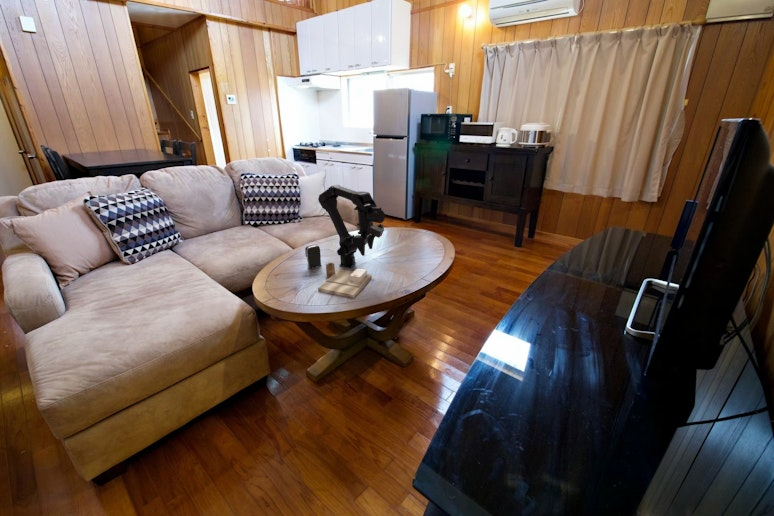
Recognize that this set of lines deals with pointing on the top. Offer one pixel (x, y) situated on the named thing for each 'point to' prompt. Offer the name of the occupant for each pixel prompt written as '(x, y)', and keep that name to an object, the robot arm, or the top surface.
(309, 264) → the battery charger
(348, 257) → the robot arm
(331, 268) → the brown knobbed cylinder
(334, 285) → the plank
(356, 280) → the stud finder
